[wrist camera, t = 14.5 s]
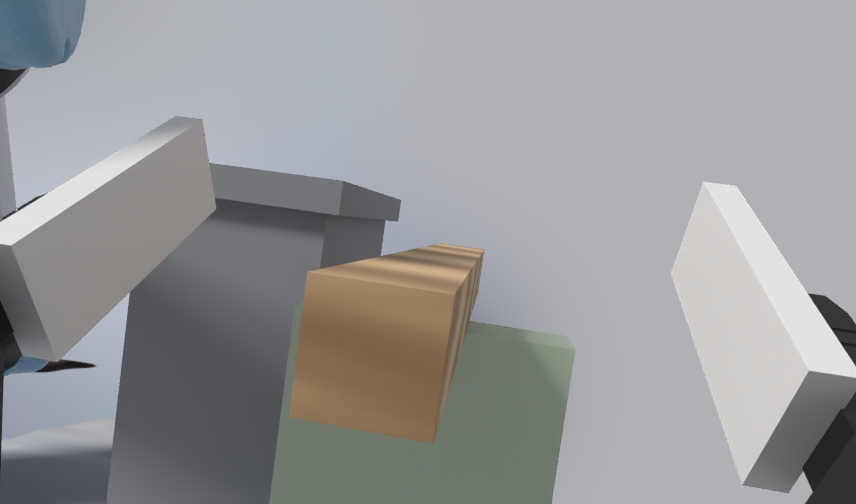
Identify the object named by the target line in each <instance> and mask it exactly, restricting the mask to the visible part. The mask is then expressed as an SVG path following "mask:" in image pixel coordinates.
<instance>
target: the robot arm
mask: <svg viewBox="0 0 856 504" xmlns="http://www.w3.org/2000/svg"><path fill="white" fill-rule="evenodd" d="M85 3H86V0H0V468H1V437H2V407H3V378H4V376H7V375H9V374H16V373H29V372H34V371H37V370H39V369H41V368H43V367H44V366H45V365H46V364H47V363H48V362H49V361H55V362H58V361H59V360H60V359H61V358H62V357H63V356H64V355H65V354H66V353H67V352H68V351H69V350H70V349H71V348H72V347H73V346H74V345H75V344H76V343H78V341H80V340H81V338H83V337H84V336H85V335H86V334H87V333H88V332H89V331H90V330H91V329H92V328H93V327H94V326H95V325H96V324H97V323H98V322H99V321H100V320H101V319H102V318H103V317H104V316H105V315H107V314H108V313H109V312H110V311H111V310H112V309H113V308H114V307H115V306H116V305H117V304H118V303H119V302H120V301H121V300H122V299H123V298H124V297H125V296H126V295H127V294H128V293H129V292H131V291H132V290H133V289H134V288H135V287H136V286H137V285H138V284H139V283H140V282H141V281H142V280H143V279H144V278H145V277H146V276H147V275H148V274H149V273H150V272H151V271H152V270H153V269H154V268H155V267H156V266H158V265H159V264H160V263H161V262H162V261H163V260H164V259H165V258H166V257H167V256H168V255H169V254H170V253H171V252H172V251H173V250H174V249H175V248H176V247H177V246H178V245H179V244H180V243H181V242H182V241H184V240H185V239H186V238H187V237H188V236H189V235H190V234H191V233H192V232H193V231H194V230H195V229H196V228H197V227H198V226H199V225H200V224H201V223H202V222H203V221H204V220H205V219H206V218H207V217H208V216H209V215H211V214H212V213H213V212H214V211H215V210H216V203H215V197H214V190H213V184H212V178H211V171H210V165H209V159H208V154H207V147H206V140H205V134H204V128H203V121H202V119H194V118H187V117H179V116H175V117H174V118H172V119H170V120H169V121H167V122H165V123H164V124H162V125H160V126H159V127H157V128H155V129H154V130H152V131H151V132H149V133H147V134H145V135H144V136H142V137H141V138H139V139H137V140H136V141H134V142H132V143H131V144H129V145H127V146H126V147H124V148H122V149H121V150H119V151H117V152H116V153H114V154H112V155H111V156H109V157H107V158H106V159H104V160H103V161H101V162H99V163H97V164H96V165H94V166H92V167H91V168H89V169H87V170H86V171H85V172H83V173H81V174H79V175H78V176H76V177H74V178H72V179H71V180H69V181H67V182H66V183H64V184H63V185H61V186H59V187H58V188H56V189H55V190H53V191H51V192H49V193H47V194H44V195H42V196H38V197H36V198H34V199H33V200H31V201H29V202H28V203H26V204H24V205H23V206H21V207H20V208H18V211H16V201H15V192H14V183H13V173H12V163H11V154H10V144H9V135H8V125H7V117H6V106H5V97H4V95H5V94H7V93H8V92H9V91H10V90H11V89H13V88H14V87H15V86H16V85H17V84H18V83H19V82H20V81H21V79H22V78H23V77H24V76H25V75H26V74H27V72H28V71H29V69H30V67H35V68H46V67H52V66H54V65H57V64H61V63H64V62H66V61H67V60H68V59H69V57H70V56H71V55H72V54H73V52H74V50H75V48H76V46H77V43H78V40H79V37H80V33H81V28H82V23H83V18H84V11H85ZM671 275H672V278H673V281H674V284H675V287H676V290H677V293H678V296H679V299H680V302H681V305H682V308H683V311H684V314H685V317H686V320H687V323H688V326H689V329H690V332H691V335H692V338H693V341H694V343H695V346H696V349H697V353H698V356H699V359H700V362H701V364H702V367H703V370H704V373H705V376H706V379H707V382H708V385H709V388H710V391H711V394H712V397H713V400H714V403H715V406H716V409H717V412H718V415H719V418H720V421H721V424H722V427H723V430H724V433H725V436H726V439H727V442H728V445H729V447H730V450H731V453H732V456H733V459H734V462H735V465H736V468H737V471H738V474H739V477H740V480H741V483H742V485H745V486H751V487H757V488H762V489H768V490H773V491H779V492H784V493H789V491H790V490H791V488H792V487H793V485H794V484H795V482H796V481H797V479H798V478H799V476H800V475H801V473H802V472H803V471H804V473H805V475H806V477H807V480H808V482H809V484H810V486H811V489H812V491H813V493H812V495H811V496H810V497H809V499H808V500H807V501H806V503H805V504H856V324H855V323H854V321H853V320H852V318H851V317H850V316H849V315H848V313H847V312H845V311H844V310H843V309H842V308H840V307H839V306H838V305H836V304H835V303H834V302H832V301H831V300H830V299H829V298H827V297H826V296H822V295H815V294H808V293H807V292H806V291H805V289H804V288H803V286H802V285H801V283H800V282H799V280H798V279H797V277H796V276H795V274H794V272H793V271H792V270H791V269H790V266H789V265H788V264H787V262H786V261H785V259H784V258H783V256H782V255H781V253H780V252H779V250H778V248H777V247H776V245H775V244H774V242H773V241H772V239H771V238H770V236H769V235H768V233H767V232H766V231H765V229H764V227H763V226H762V224H761V223H760V221H759V220H758V218H757V217H756V215H755V214H754V212H753V211H752V209H751V208H750V206H749V205H748V203H747V202H746V200H745V199H744V197H743V196H742V194H741V193H740V191H739V190H738V188H737V187H736V186H733V185H724V184H717V183H708V182H703V185H702V188H701V191H700V193H699V196H698V199H697V202H696V204H695V207H694V210H693V213H692V216H691V219H690V221H689V224H688V227H687V230H686V232H685V235H684V238H683V241H682V244H681V246H680V249H679V252H678V255H677V258H676V260H675V263H674V266H673V269H672V272H671Z"/></svg>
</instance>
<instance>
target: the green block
mask: <svg viewBox="0 0 856 504" xmlns="http://www.w3.org/2000/svg"><path fill="white" fill-rule="evenodd" d="M302 309H303V302H300V303H297V304H295V306H294V314H293V322H292V329H291V337H290V345H289V353H288V361H287V368H286V376H285V384H284V392H283V399H282V407H281V415H280V423H279V431H278V438H277V446H276V454H275V462H274V469H273V477H272V485H271V493H270V501H269V504H551V502H552V495H553V489H554V483H555V476H556V470H557V463H558V457H559V451H560V444H561V438H562V432H563V424H564V419H565V412H566V406H567V399H568V393H569V386H570V379H571V374H572V367H573V361H574V354H575V349H574V347H573V346H572V344H571V343H570V341H569V340H568V338H567V337H566V336H561V335H555V334H549V333H542V332H536V331H530V330H523V329H517V328H511V327H505V326H498V325H492V324H486V323H479V322H473V321H469V324H468V328H467V331H466V335H465V338H464V341H463V345H462V348H461V351H460V355H459V358H458V362H457V365H456V368H455V372H454V375H453V379H452V382H451V385H450V389H449V392H448V396H447V399H446V402H445V406H444V409H443V412H442V416H441V419H440V423H439V426H438V429H437V433H436V436H435V440H434V443H433V444H432V443H426V442H421V441H416V440H410V439H405V438H399V437H394V436H388V435H383V434H378V433H372V432H367V431H361V430H356V429H351V428H345V427H340V426H334V425H329V424H323V423H318V422H313V421H307V420H302V419H296V418H291V417H289V409H290V402H291V394H292V386H293V379H294V371H295V363H296V355H297V348H298V340H299V332H300V324H301V317H302Z"/></svg>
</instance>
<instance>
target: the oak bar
mask: <svg viewBox="0 0 856 504" xmlns="http://www.w3.org/2000/svg"><path fill="white" fill-rule="evenodd" d="M483 254H484V250H483V249H476V248H469V247H462V246H455V245H448V244H442V243H441V244H436V245H431V246H427V247H422V248H417V249H412V250H408V251H403V252H398V253H394V254H389V255H384V256H379V257H375V258H370V259H365V260H361V261H356V262H351V263H347V264H342V265H337V266H333V267H328V268H323V269H318V270H314V271H309V272H307V278H306V286H305V293H304V301H303V309H302V317H301V324H300V332H299V340H298V348H297V355H296V363H295V371H294V379H293V386H292V394H291V402H290V409H289V417H291V418H296V419H302V420H307V421H313V422H318V423H323V424H329V425H334V426H340V427H345V428H351V429H356V430H361V431H367V432H372V433H378V434H383V435H388V436H394V437H399V438H405V439H410V440H416V441H421V442H426V443H432V444H433V443H434V440H435V436H436V433H437V429H438V426H439V423H440V419H441V416H442V412H443V409H444V406H445V402H446V399H447V396H448V392H449V389H450V385H451V382H452V379H453V375H454V372H455V368H456V365H457V362H458V358H459V355H460V351H461V348H462V345H463V341H464V338H465V335H466V331H467V328H468V324H469V321H470V318H471V314H472V311H473V307H474V304H475V301H476V297H477V294H478V288H479V281H480V274H481V268H482V261H483Z"/></svg>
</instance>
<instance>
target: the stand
mask: <svg viewBox="0 0 856 504" xmlns="http://www.w3.org/2000/svg"><path fill="white" fill-rule="evenodd" d="M209 165H210V171H211V178H212V184H213V190H214V197H215V203H216V210H215V211H214V212H213V213H212V214H211V215H209V216H208V217H207V218H206V219H205V220H204V221H203V222H202V223H201V224H200V225H199V226H198V227H197V228H196V229H195V230H194V231H193V232H192V233H191V234H190V235H189V236H188V237H187V238H186V239H185V240H184V241H182V242H181V243H180V244H179V245H178V246H177V247H176V248H175V249H174V250H173V251H172V252H171V253H170V254H169V255H168V256H167V257H166V258H165V259H164V260H163V261H162V262H161V263H160V264H159V265H158V266H156V267H155V268H154V269H153V270H152V271H151V272H150V273H149V274H148V275H147V276H146V277H145V278H144V279H143V280H142V281H141V282H140V283H139V284H138V285H137V286H136V287H135V288H134V289H133V290H132V291H131V292H130V297H129V306H128V314H127V323H126V332H125V341H124V351H123V359H122V368H121V377H120V385H119V394H118V403H117V412H116V421H115V429H114V438H113V447H112V456H111V465H110V474H109V482H108V491H107V500H106V504H269V501H270V493H271V485H272V477H273V469H274V462H275V454H276V446H277V438H278V431H279V423H280V415H281V407H282V399H283V392H284V384H285V376H286V368H287V361H288V353H289V345H290V337H291V329H292V322H293V314H294V306H295V304H297V303H300V302H303V301H304V293H305V286H306V278H307V272H309V271H314V270H318V269H323V268H328V267H333V266H337V265H342V264H347V263H351V262H356V261H361V260H365V259H370V258H375V257H379V256H381V249H382V242H383V234H384V226H385V220H388V221H398V218H399V211H400V203H401V200H399V199H396V198H393V197H390V196H387V195H384V194H381V193H378V192H374V191H372V190H369V189H366V188H363V187H359V186H357V185H353V184H351V183H347V182H345V181H339V180H332V179H324V178H317V177H309V176H302V175H294V174H287V173H279V172H272V171H264V170H257V169H249V168H242V167H235V166H228V165H220V164H212V163H209Z"/></svg>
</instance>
